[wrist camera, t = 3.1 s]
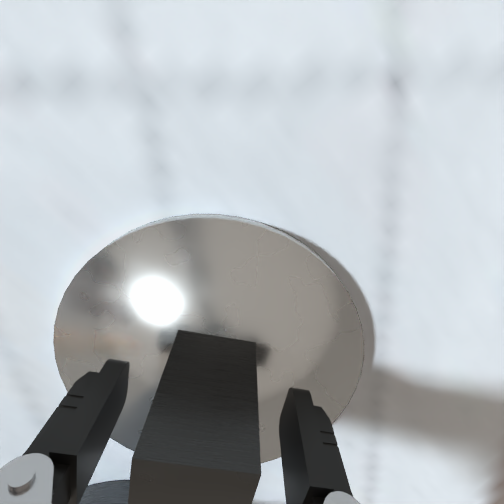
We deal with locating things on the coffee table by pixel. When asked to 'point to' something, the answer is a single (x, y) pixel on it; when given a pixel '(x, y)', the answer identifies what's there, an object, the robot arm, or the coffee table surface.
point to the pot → (107, 493)
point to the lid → (209, 348)
